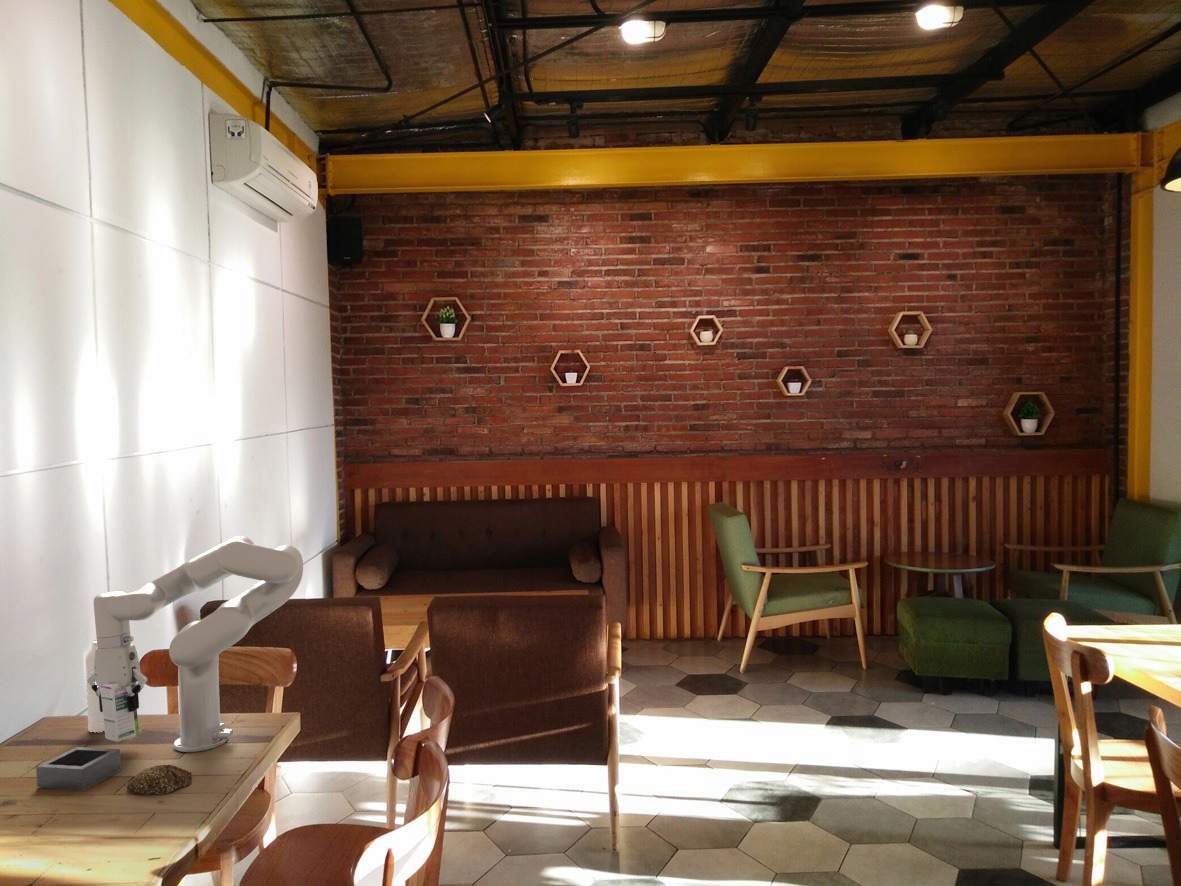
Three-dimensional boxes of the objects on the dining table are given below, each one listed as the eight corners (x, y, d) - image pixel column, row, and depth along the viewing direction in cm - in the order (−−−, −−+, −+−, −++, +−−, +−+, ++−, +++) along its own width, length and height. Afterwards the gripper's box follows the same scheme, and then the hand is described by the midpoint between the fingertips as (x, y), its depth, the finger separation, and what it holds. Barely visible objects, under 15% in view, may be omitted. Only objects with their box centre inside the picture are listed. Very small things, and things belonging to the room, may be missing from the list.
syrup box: (117, 742, 216) (112, 684, 216) (104, 738, 219) (99, 682, 219) (139, 734, 221) (134, 678, 221) (126, 731, 224) (121, 675, 224)
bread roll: (118, 793, 196) (117, 771, 196) (162, 772, 207) (162, 751, 207) (162, 801, 191) (161, 778, 191) (205, 778, 203) (204, 757, 203)
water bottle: (89, 727, 239) (85, 637, 238) (116, 723, 242) (112, 634, 241) (87, 737, 231) (83, 644, 231) (114, 732, 234) (111, 641, 234)
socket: (120, 769, 209) (119, 749, 209) (83, 790, 197) (82, 769, 197) (76, 767, 211) (76, 747, 211) (37, 788, 199) (36, 766, 199)
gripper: (154, 636, 222) (160, 705, 222) (94, 637, 225) (100, 705, 225) (134, 644, 214) (140, 715, 215) (72, 645, 217) (78, 715, 218)
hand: (119, 709), depth 220 cm, fingers closed on syrup box, 7 cm apart
